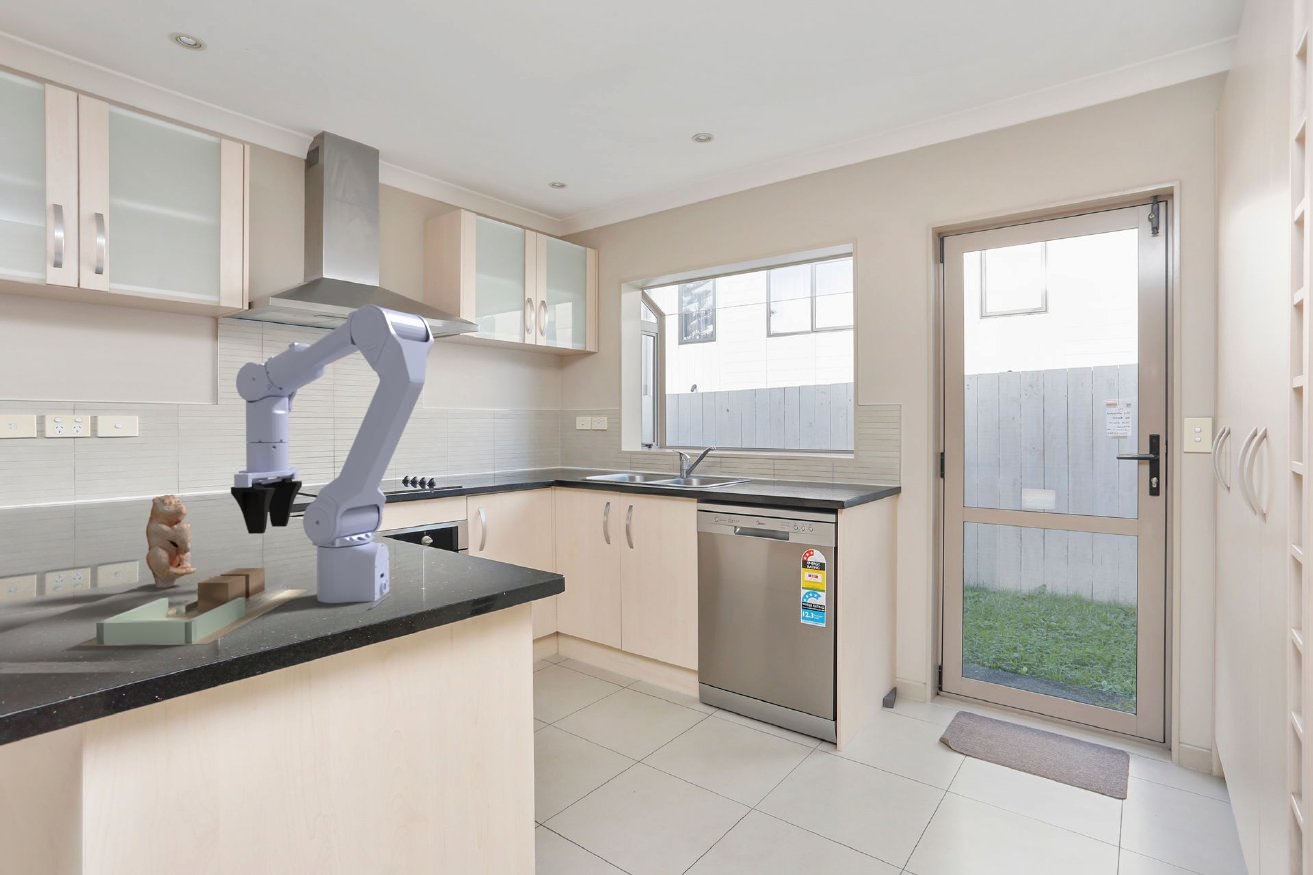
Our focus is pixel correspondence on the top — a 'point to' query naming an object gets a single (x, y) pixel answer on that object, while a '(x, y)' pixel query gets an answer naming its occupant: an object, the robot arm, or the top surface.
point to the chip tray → (165, 624)
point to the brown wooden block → (250, 579)
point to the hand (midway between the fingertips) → (268, 529)
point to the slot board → (248, 617)
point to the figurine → (168, 541)
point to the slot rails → (249, 602)
